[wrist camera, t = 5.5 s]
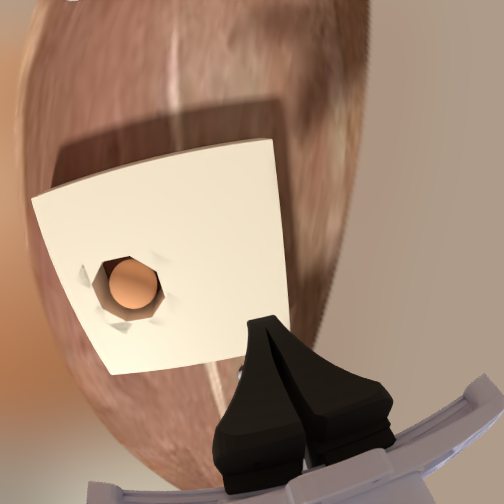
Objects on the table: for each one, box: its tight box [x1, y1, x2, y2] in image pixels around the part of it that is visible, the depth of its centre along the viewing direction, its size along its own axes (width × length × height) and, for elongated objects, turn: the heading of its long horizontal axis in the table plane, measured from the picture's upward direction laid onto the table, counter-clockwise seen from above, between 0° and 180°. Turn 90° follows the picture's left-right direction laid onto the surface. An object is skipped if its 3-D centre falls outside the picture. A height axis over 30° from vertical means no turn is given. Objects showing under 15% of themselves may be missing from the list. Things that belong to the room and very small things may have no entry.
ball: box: [109, 259, 157, 309], centre depth 19 cm, size 4×4×4 cm
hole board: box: [31, 138, 290, 375], centre depth 20 cm, size 16×16×3 cm
